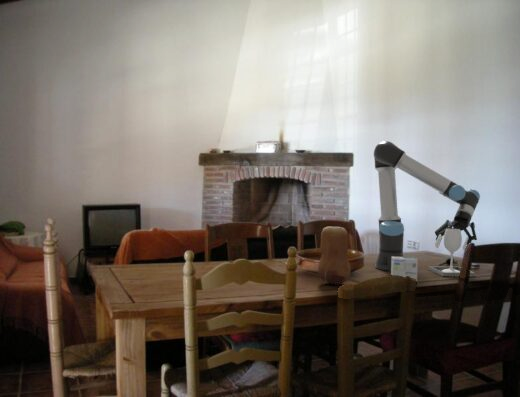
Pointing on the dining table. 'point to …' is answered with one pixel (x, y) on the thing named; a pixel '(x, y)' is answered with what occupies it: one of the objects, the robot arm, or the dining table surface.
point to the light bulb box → (404, 266)
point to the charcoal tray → (439, 271)
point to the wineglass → (452, 245)
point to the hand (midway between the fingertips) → (449, 247)
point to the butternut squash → (334, 256)
